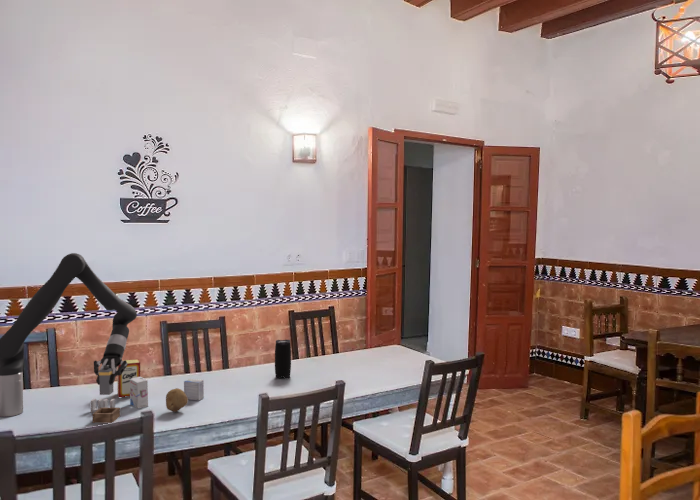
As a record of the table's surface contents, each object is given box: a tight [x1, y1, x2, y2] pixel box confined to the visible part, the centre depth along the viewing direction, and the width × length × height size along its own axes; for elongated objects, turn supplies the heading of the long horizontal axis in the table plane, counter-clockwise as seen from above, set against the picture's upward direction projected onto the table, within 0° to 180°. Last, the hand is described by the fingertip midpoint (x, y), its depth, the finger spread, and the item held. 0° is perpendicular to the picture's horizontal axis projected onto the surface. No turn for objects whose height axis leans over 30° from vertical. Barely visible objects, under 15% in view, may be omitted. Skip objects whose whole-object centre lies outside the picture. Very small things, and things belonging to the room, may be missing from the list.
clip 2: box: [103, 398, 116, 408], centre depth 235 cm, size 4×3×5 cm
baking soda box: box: [116, 359, 141, 398], centre depth 259 cm, size 10×6×16 cm
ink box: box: [129, 376, 149, 409], centre depth 243 cm, size 9×5×12 cm, turn 45°
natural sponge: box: [165, 387, 189, 413], centre depth 235 cm, size 9×9×10 cm
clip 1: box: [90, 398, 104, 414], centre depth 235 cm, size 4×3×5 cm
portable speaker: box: [274, 339, 292, 379], centre depth 292 cm, size 9×9×20 cm
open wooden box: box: [92, 407, 121, 424], centre depth 225 cm, size 8×8×4 cm
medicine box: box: [183, 378, 205, 401], centre depth 253 cm, size 8×4×9 cm, turn 74°
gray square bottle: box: [99, 365, 115, 396], centre depth 225 cm, size 4×4×12 cm
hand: (104, 383), depth 223 cm, fingers closed on gray square bottle, 4 cm apart
